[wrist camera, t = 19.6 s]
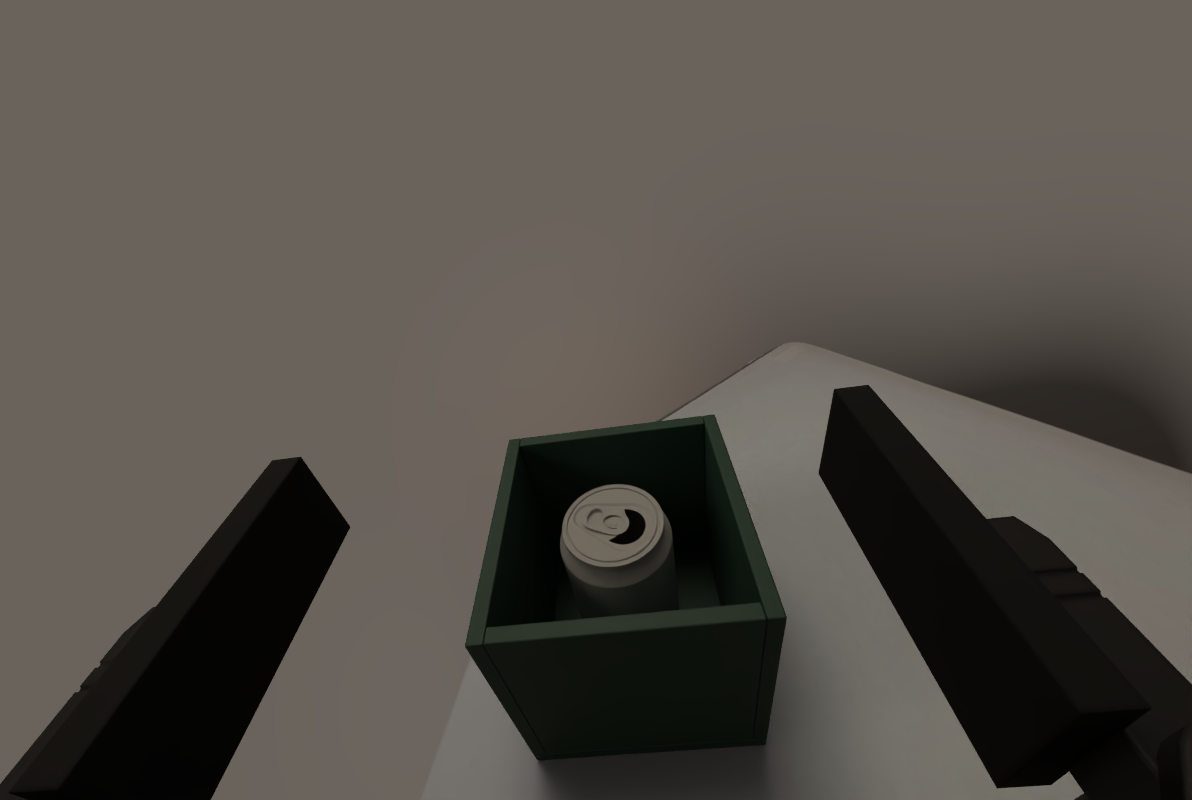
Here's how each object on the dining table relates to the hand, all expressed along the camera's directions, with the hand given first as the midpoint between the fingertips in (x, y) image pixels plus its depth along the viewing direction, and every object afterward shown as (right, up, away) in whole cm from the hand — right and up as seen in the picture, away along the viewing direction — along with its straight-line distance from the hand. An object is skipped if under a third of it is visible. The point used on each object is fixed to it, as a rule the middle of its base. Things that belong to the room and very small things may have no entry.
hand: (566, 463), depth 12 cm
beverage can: (+3, -15, +21) cm, 26 cm away
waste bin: (+4, -15, +21) cm, 26 cm away
